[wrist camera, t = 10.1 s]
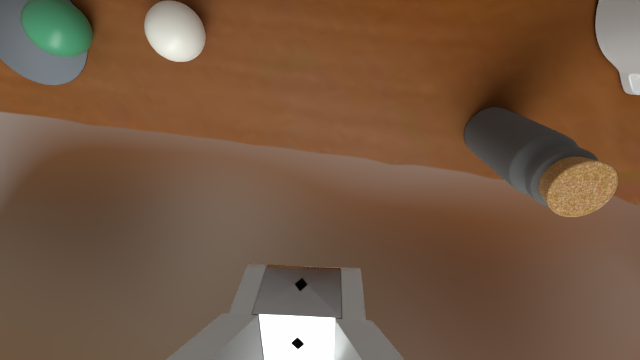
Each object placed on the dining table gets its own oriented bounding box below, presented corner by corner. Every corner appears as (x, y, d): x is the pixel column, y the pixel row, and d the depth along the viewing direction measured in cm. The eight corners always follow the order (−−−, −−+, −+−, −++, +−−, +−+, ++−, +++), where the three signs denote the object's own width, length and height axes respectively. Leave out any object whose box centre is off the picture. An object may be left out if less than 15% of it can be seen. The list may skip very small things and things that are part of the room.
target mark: (64, -39, 30) (63, -39, 30) (102, 85, 35) (101, 85, 35) (-48, -38, 30) (-51, -39, 30) (5, 83, 36) (4, 84, 36)
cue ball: (128, -1, 26) (144, 3, 30) (148, 67, 28) (160, 60, 33) (195, -3, 27) (200, 1, 31) (209, 62, 29) (212, 57, 34)
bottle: (466, 108, 34) (550, 156, 21) (520, 104, 34) (641, 151, 20) (460, 155, 37) (531, 225, 23) (510, 152, 36) (611, 222, 23)
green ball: (7, -10, 25) (11, -5, 29) (33, 60, 28) (33, 56, 32) (86, -4, 29) (80, 0, 32) (103, 58, 31) (96, 55, 35)
